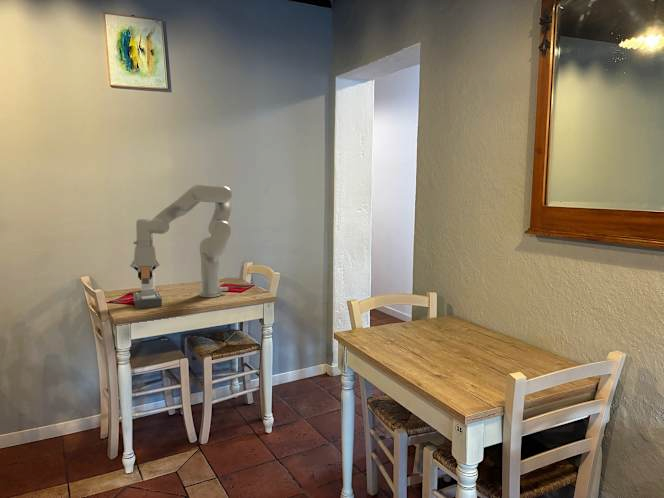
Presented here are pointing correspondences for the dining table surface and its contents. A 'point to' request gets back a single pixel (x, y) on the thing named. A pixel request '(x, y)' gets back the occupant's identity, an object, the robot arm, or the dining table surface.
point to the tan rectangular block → (145, 274)
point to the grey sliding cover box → (147, 301)
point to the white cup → (151, 283)
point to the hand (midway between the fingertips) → (145, 278)
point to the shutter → (147, 294)
